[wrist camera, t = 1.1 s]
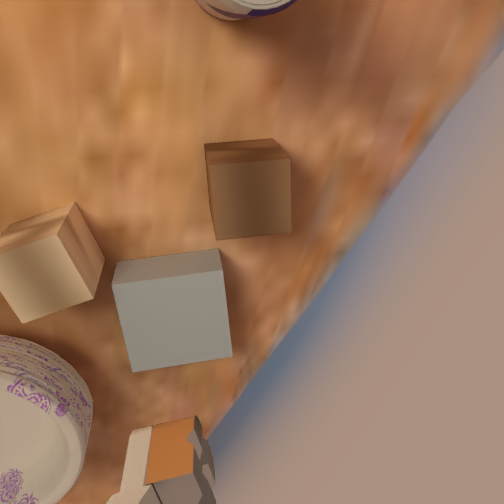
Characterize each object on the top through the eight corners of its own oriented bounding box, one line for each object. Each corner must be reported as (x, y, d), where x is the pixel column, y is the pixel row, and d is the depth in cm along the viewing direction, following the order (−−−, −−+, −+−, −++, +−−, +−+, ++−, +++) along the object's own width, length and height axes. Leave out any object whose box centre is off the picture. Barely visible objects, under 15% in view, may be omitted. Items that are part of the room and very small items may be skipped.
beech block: (44, 280, 36) (22, 323, 31) (10, 224, 34) (-21, 261, 28) (105, 258, 36) (93, 298, 31) (74, 201, 34) (56, 234, 28)
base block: (136, 341, 40) (132, 372, 36) (117, 259, 36) (111, 285, 33) (227, 328, 41) (232, 356, 37) (218, 246, 37) (222, 269, 34)
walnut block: (209, 208, 35) (216, 240, 30) (204, 143, 33) (209, 165, 28) (273, 202, 36) (291, 232, 31) (272, 138, 34) (290, 158, 28)
